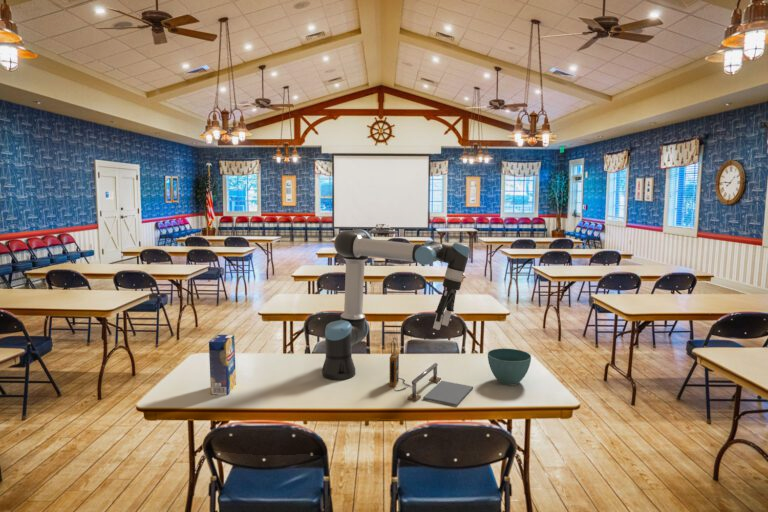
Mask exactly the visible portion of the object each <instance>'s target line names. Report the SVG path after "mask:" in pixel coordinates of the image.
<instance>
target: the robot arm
mask: <svg viewBox="0 0 768 512" xmlns="http://www.w3.org/2000/svg"><path fill="white" fill-rule="evenodd" d="M333 246H334V249H335V251H336V252H337V254H339V255H340V256H342V259H343V260H344V261H345V277H344V279H345V280H344V282H345V283H344V284H345V285H344V305H343V306H344V309H343V312H342V313H341V314H340V320H339V319H338V320H335V321H331V322H329V323H327V324H326V327H325V332H324V337H325V338H324V339H325V359H324V362H323V365H322V367H321V368H322V369H321V376H322V377H323V378H325V379H328V380H338V381H340V380H347V379H351V378H353V377H354V376H355V375H356V367H355V363H354V360H353V358H352V357H353V356H352V354H353V353H352V347H353V346H354V345H356V344H357V343H360V342H362V341H363V340H364V339H365V338H366V337H367V335H368V333H369V323H368V321H367V320H366V315H365V314H364V313H363V309H364V307H363V305H364V304H363V303H364V302H363V301H364V279H365V263H366V262H367V261H368V260H369V257H370V258H380V259H387V260H388V259H389V260H396V261H403V262H412V263H413V262H414V263H418V264H419V265H424V266H425V265H426V266H428V265H431V264H433V263H434V262H441V263H445V264H447V267H446V270H445V274H444V277H443V282H442V287H444V288H445V290H443V291H442V294H441V297H440V299H439V302H438V305H437V308H436V310H435V311H434V313H435V314H436V315H435V319H434V323H433V326H432V329H435V330H437V331H440V329H441V325H442V326H446V327H448V326H449V323H450V319H451V315H452V313H454V311H455V310H454V309H455V302H456V295H457V291H460V290H461V286H462V280H463V279H464V277H465V276H466V275H465V270H466V267H467V263H468V259H469V258H470V255H469V254H470V251H471V247H470V246H469V245H466V244H463V243H459V242H453V243H452V245H448V244H444V243H441V242H438V241H434V240H426V241H425V242H424V244H422V243H421V244H420V243H411V242H402V241H401V242H400V241H393V240H385V239H372V236H371V235H370V233H369V232H368V231H366V230H364V229H359V228H355V229H354V228H353V229H351V230H350V229H349V230H344V231H341V232H339V233H338V234H337V235H336V236H335V239H334V242H333Z"/></svg>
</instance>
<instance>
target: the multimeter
mask: <svg viewBox="0 0 768 512" xmlns="http://www.w3.org/2000/svg"><path fill="white" fill-rule="evenodd" d="M396 342H397V339H395V337H393V338H392V341H391V343H390V344H391V345H390V349H391V350H390V351H391V354H390V356H389V387H392V389H393V390H394V391H395V392H400V391H403V390H406V389H407V388H408V387H411V388H412V385H411V384H408V383H404V382H405V381H406V380H405V379H404V378H400V377H399V374H400V372H399V371H400V370H399V369H400V367H399V366H400V365H399V364H400V363H399V362H400V359H399V358H400V357H399V356H400V355H399V352H397V351H396ZM392 343H393V344H392ZM392 345H393V346H392ZM392 347H393V348H392ZM392 349H393V350H392ZM399 380H402V381H403V384H404V385H406V387H402V388H401V389H395V388H396V387H397V385H398V383H399V382H400V381H399ZM407 386H408V387H407Z"/></svg>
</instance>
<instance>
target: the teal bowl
mask: <svg viewBox="0 0 768 512" xmlns="http://www.w3.org/2000/svg"><path fill="white" fill-rule="evenodd" d="M531 360H532V355H531V354H530V353H528V352H527V351H523V350H520V349H516V348H495V349H490V350H488V352H487V361H488V364H489V368H490V371H491V372H492V375H493V376H494V377H495V379H496V380H497V381H498V382H499V383H500V384H502V385H504V386H505V385H506V386H516V385H518V384H520V382H521V381H522V380H523V379H524V378H525V377H526V375H527V373H528V371H529V369H530V366H531Z"/></svg>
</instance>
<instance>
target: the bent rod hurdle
mask: <svg viewBox="0 0 768 512" xmlns="http://www.w3.org/2000/svg"><path fill="white" fill-rule="evenodd" d="M430 372H432V373H433V375H432V376H431V377H430V378H429V379H428V381H431V382H430V383H435V384H439V383H440V382H441V381H442V377H438V363H437V362H435V363H433V364H431V366H429V367H428V368H427V369H426V370H424V371H423V372H422V373H421V374H419V375H418V376H416V377H415V378H414V379H413V380H412V381H411V386H412V387H411V388H412V389H411V390H412V392H411V393H410V395H409V396H407V400H408V401H412V402H418V401H419V400H420V399H421V398H422V395H420V394H417V383H418V382H420V381H421V380H422V379H423V378H424V377H426V376H427V375H428V374H429V373H430ZM440 380H441V381H440Z"/></svg>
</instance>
